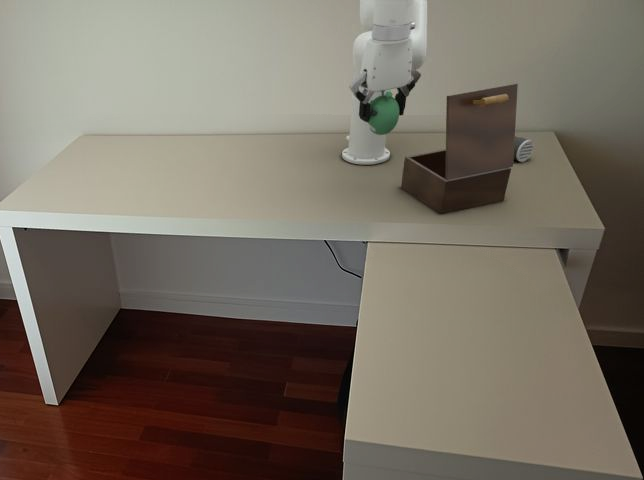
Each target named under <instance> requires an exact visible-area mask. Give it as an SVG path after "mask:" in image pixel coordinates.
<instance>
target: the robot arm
mask: <svg viewBox="0 0 644 480" xmlns="http://www.w3.org/2000/svg"><path fill="white" fill-rule="evenodd" d="M359 22H360V25H361V27H362V28H363V30H366V31H364V32H363V33H360V34H359V35H358V36H356V38H355V40H354V42H353V45H352V64H353V66H352V67H353V81H352V82H351V83H349V85H348V88H349V89H350V91H351V92H352V98H351V99H352V100H351V111H350V112H351V113H350V124H349V135H346V137H345V140H346V141H347V142H348V146H347V147H346V148H344V149H343V150H342V152H341V158H342V159H343V160H344V161H346V162H348V163H350V164H353V165H354V164H355V165H361V166H363V165H364V166H370V165H379V164H382V163H385V162H386V161H388V160H390V157H391V152H390V150H389V149H388V148H387V147H386V139H387V134H385V135H377V134H375V133H373V132H372V131H371V130H370V124H368V123H367V122H368V121H369V117H370V107H371V104H370V103H369V102H370V100H374V99H375V98H377V97H379V96H382V92H381V91H383V90H385V91H384V95H385V93H386V92H391V93H392V90H393V89H396V90H397V93H395V96H394V99H395V100H396V101H397V103H398V105H399V117H400V116H404V113H405V109H406V103H407V98H408V97H409V96H410V93H411V91H412V90H413V89H414V88H415V87H416V84H417V83H418V81H419V80H420V78H421V77H422V73H421V72H419V71H418V70H419V69H421V68H422V67H423V65H424V63H425V62H426V61H425V60H426V56H427V49H428V0H359Z"/></svg>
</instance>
